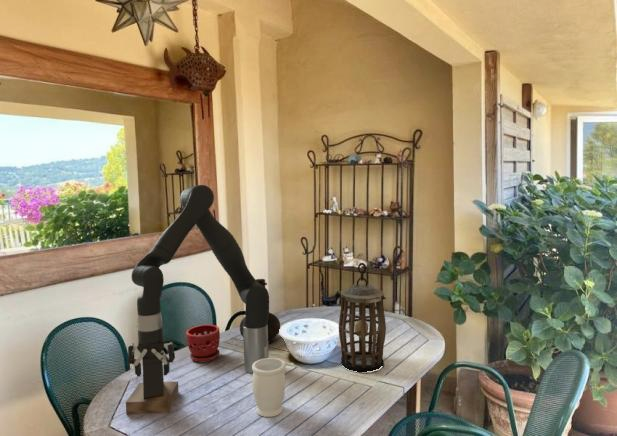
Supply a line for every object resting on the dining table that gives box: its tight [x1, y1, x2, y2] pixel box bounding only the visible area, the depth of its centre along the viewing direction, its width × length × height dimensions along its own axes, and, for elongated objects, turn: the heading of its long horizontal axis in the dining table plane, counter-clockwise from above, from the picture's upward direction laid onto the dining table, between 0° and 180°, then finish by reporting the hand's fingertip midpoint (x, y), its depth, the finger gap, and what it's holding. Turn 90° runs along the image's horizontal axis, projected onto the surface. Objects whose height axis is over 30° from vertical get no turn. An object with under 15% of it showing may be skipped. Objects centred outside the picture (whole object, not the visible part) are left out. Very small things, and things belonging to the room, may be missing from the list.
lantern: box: [338, 262, 387, 373], centre depth 172 cm, size 19×19×40 cm
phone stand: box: [141, 357, 165, 399], centre depth 145 cm, size 9×6×12 cm, turn 17°
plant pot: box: [185, 324, 221, 363], centre depth 181 cm, size 13×13×12 cm
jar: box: [251, 357, 286, 418], centre depth 140 cm, size 11×10×15 cm
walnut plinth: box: [125, 381, 180, 415], centre depth 146 cm, size 13×13×4 cm
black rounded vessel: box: [239, 278, 281, 344], centre depth 198 cm, size 18×18×28 cm
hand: (152, 374), depth 145 cm, fingers open, 8 cm apart
